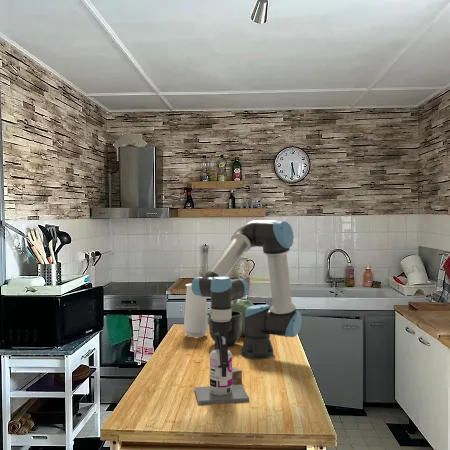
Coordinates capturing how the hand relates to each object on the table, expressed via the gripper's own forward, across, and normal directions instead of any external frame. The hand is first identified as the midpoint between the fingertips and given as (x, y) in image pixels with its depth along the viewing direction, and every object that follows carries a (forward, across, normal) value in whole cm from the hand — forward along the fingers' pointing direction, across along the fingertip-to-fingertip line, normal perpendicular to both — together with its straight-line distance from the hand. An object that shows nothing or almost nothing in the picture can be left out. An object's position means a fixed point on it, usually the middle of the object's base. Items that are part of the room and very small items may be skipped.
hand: (221, 379), depth 182 cm
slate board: (+6, 0, 0) cm, 6 cm away
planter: (+6, -70, +13) cm, 71 cm away
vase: (+6, -90, 0) cm, 90 cm away
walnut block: (+6, -14, +7) cm, 17 cm away
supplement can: (+5, 0, 0) cm, 5 cm away
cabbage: (+6, -89, +25) cm, 93 cm away
